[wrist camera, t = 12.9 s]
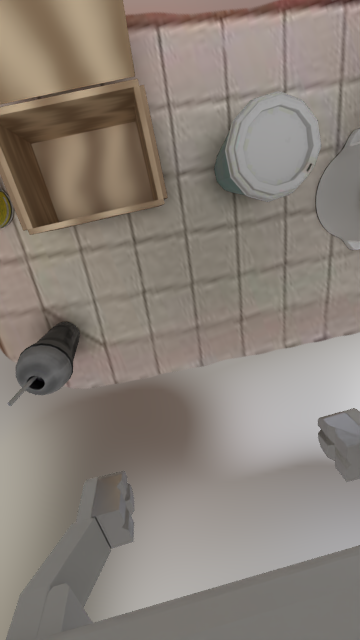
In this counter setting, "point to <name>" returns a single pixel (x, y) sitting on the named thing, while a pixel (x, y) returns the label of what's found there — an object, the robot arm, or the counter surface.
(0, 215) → the pill bottle
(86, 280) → the counter surface
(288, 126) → the disposable coffee cup
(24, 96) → the lid flap
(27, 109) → the cardboard carton
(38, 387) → the beverage cup
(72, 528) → the robot arm
